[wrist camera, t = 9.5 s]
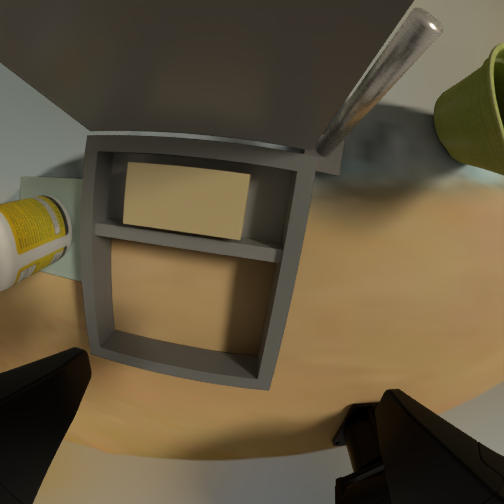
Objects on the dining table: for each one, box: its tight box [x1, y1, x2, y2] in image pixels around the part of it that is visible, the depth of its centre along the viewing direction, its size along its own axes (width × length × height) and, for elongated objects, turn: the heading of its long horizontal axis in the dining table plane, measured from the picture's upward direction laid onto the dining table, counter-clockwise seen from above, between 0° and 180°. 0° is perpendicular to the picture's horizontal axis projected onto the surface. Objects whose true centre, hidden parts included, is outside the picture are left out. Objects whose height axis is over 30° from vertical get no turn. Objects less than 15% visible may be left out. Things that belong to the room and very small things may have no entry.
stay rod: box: [302, 8, 443, 176], centre depth 11 cm, size 5×2×13 cm, turn 171°
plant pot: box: [434, 43, 504, 175], centre depth 12 cm, size 9×9×9 cm
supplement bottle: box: [0, 195, 72, 291], centre depth 14 cm, size 5×5×10 cm
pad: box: [20, 177, 82, 282], centre depth 19 cm, size 8×8×1 cm
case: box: [80, 135, 318, 391], centre depth 18 cm, size 16×14×3 cm
